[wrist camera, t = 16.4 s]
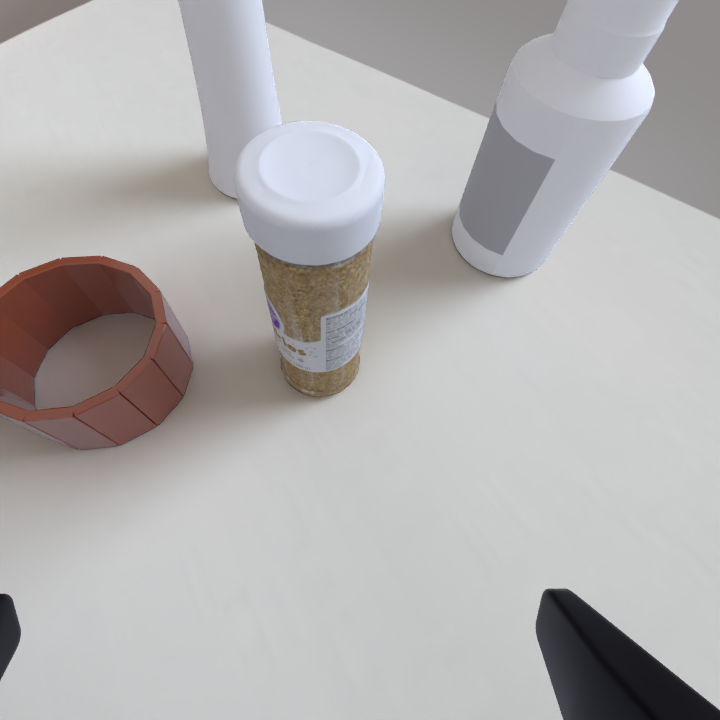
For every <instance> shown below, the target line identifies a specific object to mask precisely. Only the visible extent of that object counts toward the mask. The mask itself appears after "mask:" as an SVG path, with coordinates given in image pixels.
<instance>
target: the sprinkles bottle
mask: <svg viewBox="0 0 720 720" xmlns="http://www.w3.org/2000/svg"><path fill="white" fill-rule="evenodd" d="M234 185H235V190H236V194H237V199H238V204H239V208H240V212H241V216H242V219H243V223H244V226H245V228H246V230H247V232H248V234H249V236H250V237H251V239H252V240H253V241H254V242H255V246H256V250H257V253H258V259H259V262H260V268H261V271H262V276H263V280H264V290H265V294H266V298H267V302H268V306H269V310H270V314H271V319H272V323H273V328H274V333H275V338H276V342H277V345H278V348H279V350H280V355H281V359H280V361H281V369H282V372H283V374H284V376H285V379H286V380H287V381H288V382H289V383H290V385H291V386H292V387H294V388H295V389H297V390H299V391H300V392H302V393H304V394H306V395H312V396H328V395H333V394H335V393H339V392H341V391H342V390H344V389H345V388H346V387H347V386H349V385H350V383H351V382H352V381H353V380H354V379H355V377H356V375H357V373H358V370H359V362H360V356H359V348H360V344H361V341H362V335H363V327H364V319H365V312H366V304H367V296H368V288H369V280H370V259H371V251H372V243H373V240H374V236H375V233H376V231H377V229H378V227H379V224H380V219H381V212H382V205H383V196H384V185H385V172H384V168H383V164H382V162H381V160H380V157H379V156H378V154H377V152H376V151H375V150H374V148H373V147H372V146H371V145H370V144H369V143H368V142H367V141H366V140H364V139H363V138H362V137H361V136H359V135H358V134H356V133H354V132H352V131H351V130H348V129H346V128H344V127H341V126H338V125H335V124H331V123H326V122H318V121H296V122H290V123H285V124H281V125H278V126H275V127H272V128H270V129H267V130H265V131H264V132H262V133H260V134H258V135H257V136H256V137H255V138H253V139H252V140H251V141H250V142H249V143H248V144H247V145H246V146H245V147H244V148H243V150H242V151H241V153H240V154H239V157H238V159H237V161H236V164H235V169H234Z"/></svg>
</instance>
